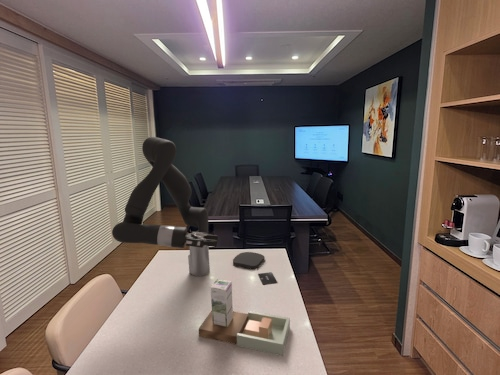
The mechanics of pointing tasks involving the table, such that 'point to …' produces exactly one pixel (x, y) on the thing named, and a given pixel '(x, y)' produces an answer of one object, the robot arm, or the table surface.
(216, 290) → the syrup box
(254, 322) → the tile
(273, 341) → the tray
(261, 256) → the media streaming box
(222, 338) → the board
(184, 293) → the table surface
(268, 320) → the tile
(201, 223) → the robot arm
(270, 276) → the solid state drive
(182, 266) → the table surface
